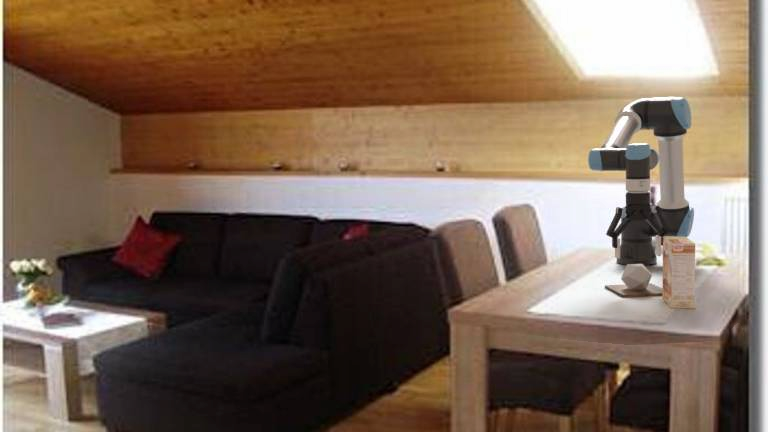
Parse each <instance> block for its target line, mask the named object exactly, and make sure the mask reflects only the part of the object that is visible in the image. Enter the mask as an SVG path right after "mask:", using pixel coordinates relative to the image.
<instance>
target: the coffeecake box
mask: <svg viewBox="0 0 768 432" xmlns="http://www.w3.org/2000/svg"><path fill="white" fill-rule="evenodd" d="M695 286H696V243H695V242H694V241H692V240H690V238H688V237H676V236H665V237H663V245H662V289H663V295H662V296H661V298H662V299H663V301H664V302H665V303H666V304H667V305H668V306H669V307H670V309H695V307H696V303H695V300H696V299H695V298H696V295H695V294H696V291H695V289H696V287H695Z"/></svg>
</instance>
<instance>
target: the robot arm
mask: <svg viewBox="0 0 768 432" xmlns="http://www.w3.org/2000/svg"><path fill="white" fill-rule="evenodd" d="M691 127H692V111H691V107H690V104H689V102H688V100H687V99H686V98H685V97H681V96H680V97H679V96H677V97H676V96H668V97H667V96H666V97H651V98H647V97H646V98H645V97H644V98H640V99H637V100H635V101H632V102H631V103H629V104H628V105H626V106H625V107H623V108H622V109H621V110H620V111H619V112H618V113H617V115H616V117H615V119H614V125H613V127H612V129H611V130H610V132H609V134H608V136H607V137H606V139H605V141H604V142H603V144H602V145H601V147H600V148H598V147H597V148H592V149H590V151H589V152H588V160H587V161H588V167H589V169H590V170H591V171H593V172H594V171H596V172H598V171H599V172H616V171H617V172H620V171H621V172H625V191H626V193H625V205H624V206H623V207H615V208H616V209H615V214H614V216H613V219H612V221H611V223H610V224H609V227H608V229H607V231H606V233H605V235H606V236H607V237H610V238H611V239H612V240H611V246H612V248H613V249H614V258H616V263H617V264H620V265H625V266H626V265H627V264H643V265H644V266H651V265H650V264H652V265H656V264H657V263H656V262H658V260H657V259H658V257H661V256H662V247H663V237H665V236H676V237H686V238H688V237H689V236H690V234H691V233H692V229H693V224H694V218H695V217H694V216H695V209H694V207H690V201H688V200H687V199H686V198H685V178H684V177H685V172H684V171H685V170H684V169H685V168H684V144H683V142H684V141H683V138H684V137H685V136H686V135H687V134H688V133H687V132H688V130H689V129H691ZM648 130H650V131H653V136H654V137H655V138H656V139H657V145H658V146H657V147H658V151H657V150H655V148H653V147H651V145H650V144H649V143H630V142H631V140H632V139H633V137H634V135H635V134H637V133H638V132H639V131H648ZM657 166H658V167H659V192H660V193H659V194H660V200H659V201H658V202H656V204H655V205H653V203H652V202H651V193H650V192H649V191H651V170H654V169H655V168H656V167H657ZM619 222H620V224H619ZM620 235H621V236H620ZM619 236H620V237H619ZM653 238H655V241H654V242H655V243H654V244H655V245H654V244H653ZM654 246H655V247H654ZM655 263H656V264H655Z"/></svg>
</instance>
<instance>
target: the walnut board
mask: <svg viewBox="0 0 768 432" xmlns="http://www.w3.org/2000/svg"><path fill="white" fill-rule="evenodd" d="M604 288H605V289H607V290H608V291H610V292H612V293H613V294H616V295H618V296H619V297H621V298H641V297H662V295H663V287H660V286H659V285H656V284H653V283H650V282H649V284H648V286H647V289H646V290H630V289H629V288H628V287H627V286H626V284H625V283H624V284H610V285H609V284H607V285H606V284H605V285H604Z"/></svg>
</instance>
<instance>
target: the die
mask: <svg viewBox="0 0 768 432" xmlns="http://www.w3.org/2000/svg"><path fill="white" fill-rule="evenodd" d="M652 277H653V274H652V273H651V272H650V271H649V270H648V268H647V267H646V265H643V264H627V265H625V268H624V270H623V273H622V275H621V278H620V279H621V281H622V283H624V285H625V284H626V286H627V287H628V288H629V289H630V290H646V289H647V286H648V284H649V283H650V281H651V279H652Z"/></svg>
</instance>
